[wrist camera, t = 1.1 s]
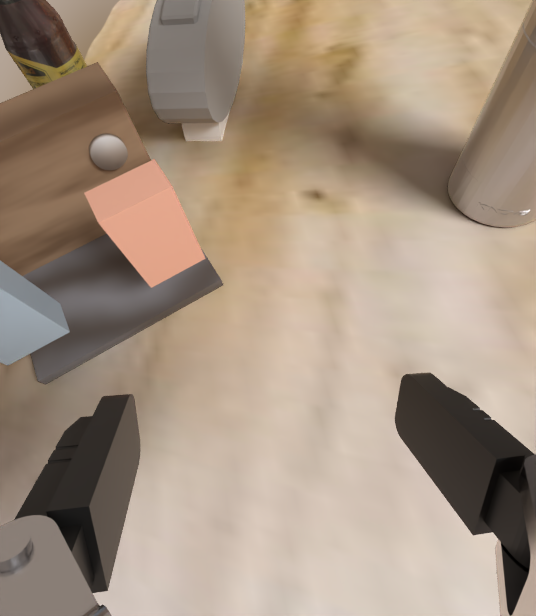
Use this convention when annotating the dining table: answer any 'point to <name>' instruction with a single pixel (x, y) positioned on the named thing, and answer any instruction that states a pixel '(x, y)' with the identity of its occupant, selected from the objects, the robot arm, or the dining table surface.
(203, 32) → the alarm clock
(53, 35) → the sauce bottle
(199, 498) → the dining table surface
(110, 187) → the salmon pink block
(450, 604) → the dining table surface
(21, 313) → the blue-gray block
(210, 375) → the dining table surface
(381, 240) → the dining table surface
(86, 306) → the switch block
